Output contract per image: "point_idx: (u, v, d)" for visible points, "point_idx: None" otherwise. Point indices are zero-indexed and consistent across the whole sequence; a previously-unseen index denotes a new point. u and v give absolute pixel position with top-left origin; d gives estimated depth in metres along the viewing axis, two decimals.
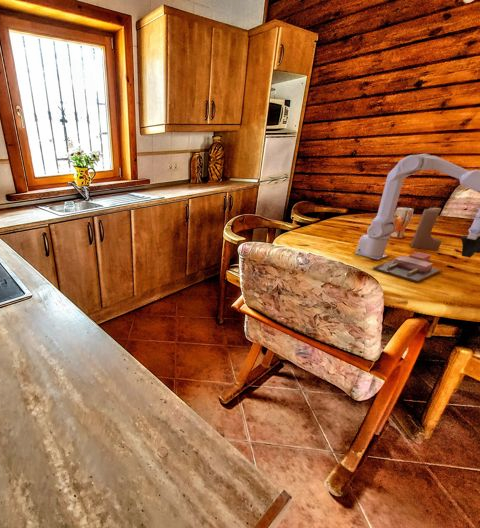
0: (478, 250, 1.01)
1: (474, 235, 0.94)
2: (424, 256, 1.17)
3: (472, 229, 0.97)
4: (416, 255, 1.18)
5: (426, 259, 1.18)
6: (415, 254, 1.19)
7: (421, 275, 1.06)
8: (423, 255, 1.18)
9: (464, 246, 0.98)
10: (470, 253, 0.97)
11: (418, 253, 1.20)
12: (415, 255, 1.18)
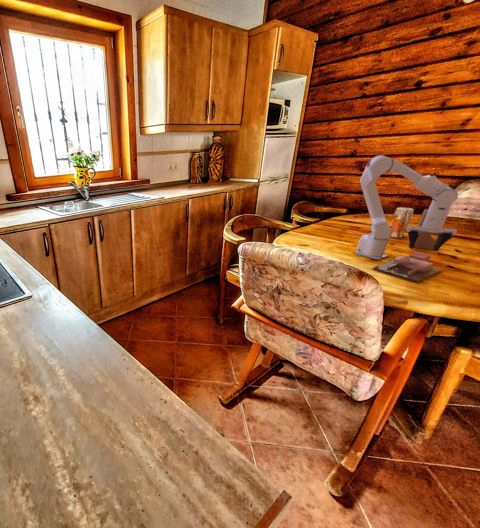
0: (435, 248, 1.15)
1: (407, 228, 1.17)
2: (424, 256, 1.17)
3: None
4: (416, 255, 1.18)
5: (426, 259, 1.18)
6: (415, 254, 1.19)
7: (421, 275, 1.06)
8: (423, 255, 1.18)
9: (410, 238, 1.19)
10: (411, 245, 1.18)
11: (418, 253, 1.20)
12: (415, 255, 1.18)
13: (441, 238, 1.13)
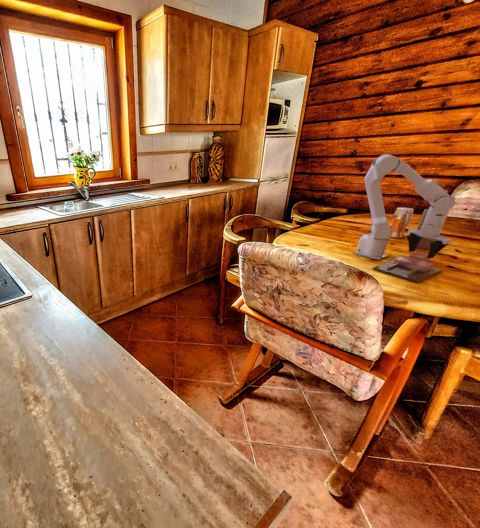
0: (414, 249, 1.21)
1: (449, 240, 1.08)
2: (424, 256, 1.17)
3: (431, 235, 1.13)
4: (416, 255, 1.18)
5: (426, 259, 1.18)
6: (415, 254, 1.19)
7: (421, 275, 1.06)
8: (423, 255, 1.18)
9: None
10: (434, 254, 1.14)
11: (418, 253, 1.20)
12: (415, 255, 1.18)
13: (418, 239, 1.20)
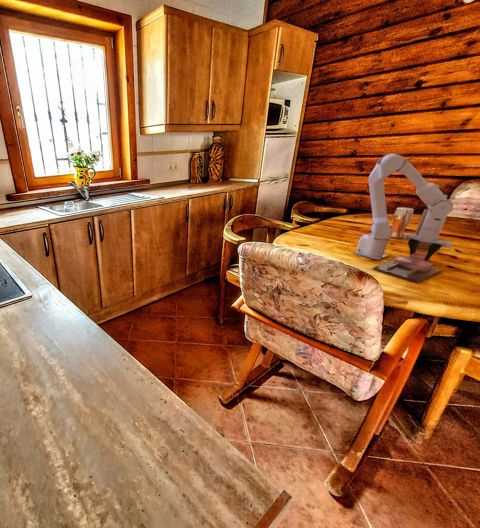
0: None
1: (451, 244, 1.10)
2: (424, 256, 1.17)
3: (432, 240, 1.13)
4: (416, 255, 1.18)
5: None
6: (415, 254, 1.19)
7: (421, 275, 1.06)
8: (423, 255, 1.18)
9: None
10: (430, 256, 1.16)
11: (418, 253, 1.20)
12: (415, 255, 1.18)
13: (418, 244, 1.19)
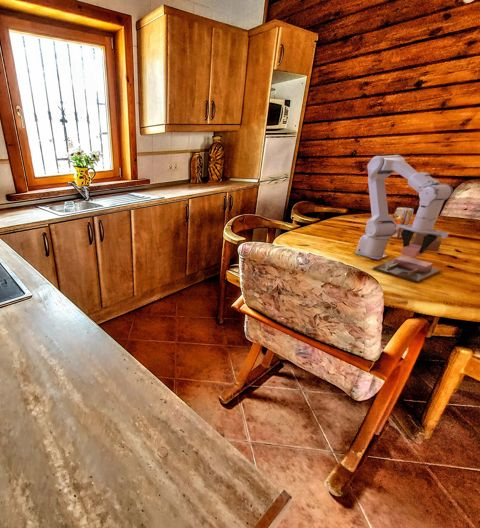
0: None
1: (447, 234, 1.00)
2: (418, 249, 1.07)
3: (427, 230, 1.03)
4: (410, 247, 1.09)
5: None
6: (409, 246, 1.10)
7: (421, 275, 1.06)
8: (417, 248, 1.08)
9: None
10: (425, 249, 1.07)
11: (412, 245, 1.11)
12: (408, 247, 1.09)
13: (411, 235, 1.10)
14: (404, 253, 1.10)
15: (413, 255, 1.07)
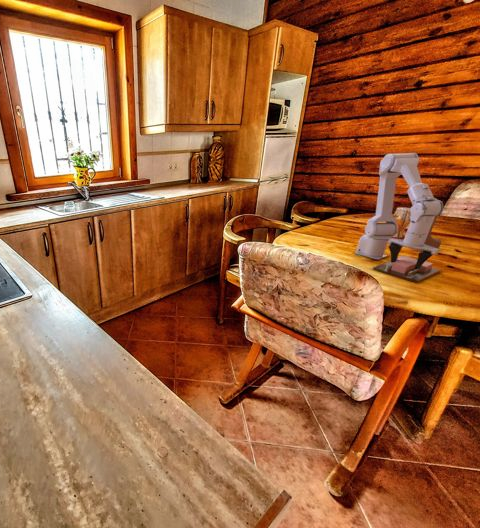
0: (395, 259, 1.13)
1: (438, 250, 1.01)
2: (409, 265, 1.08)
3: (418, 245, 1.04)
4: (400, 263, 1.10)
5: (411, 268, 1.09)
6: (400, 262, 1.11)
7: (421, 275, 1.06)
8: (408, 264, 1.09)
9: None
10: (421, 265, 1.06)
11: (403, 261, 1.11)
12: (399, 264, 1.10)
13: (400, 248, 1.12)
14: (394, 269, 1.11)
15: (403, 271, 1.08)
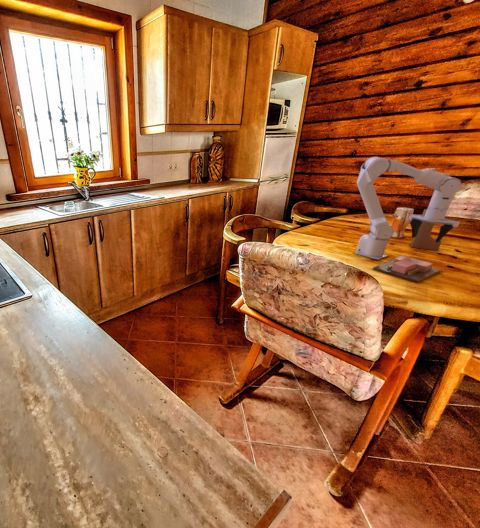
0: (416, 234, 1.20)
1: (458, 223, 1.08)
2: (409, 265, 1.08)
3: (439, 219, 1.11)
4: (400, 263, 1.10)
5: (411, 268, 1.09)
6: (400, 262, 1.11)
7: (421, 275, 1.06)
8: (408, 264, 1.09)
9: None
10: (441, 238, 1.14)
11: (403, 261, 1.11)
12: (399, 264, 1.10)
13: (420, 224, 1.19)
14: (394, 269, 1.11)
15: (403, 271, 1.08)
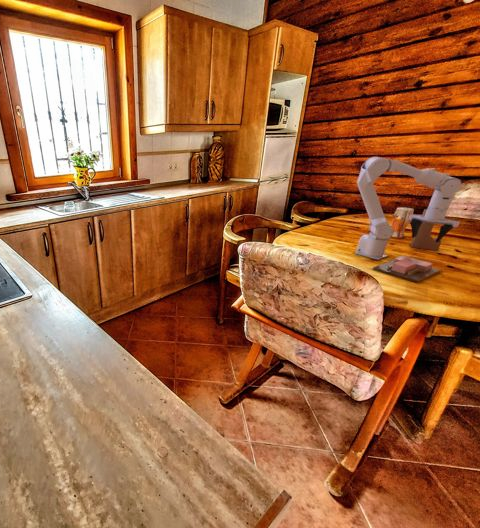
0: (416, 234, 1.20)
1: (458, 223, 1.08)
2: (409, 265, 1.08)
3: (439, 219, 1.11)
4: (400, 263, 1.10)
5: (411, 268, 1.09)
6: (400, 262, 1.11)
7: (421, 275, 1.06)
8: (408, 264, 1.09)
9: None
10: (441, 238, 1.14)
11: (403, 261, 1.11)
12: (399, 264, 1.10)
13: (420, 224, 1.19)
14: (394, 269, 1.11)
15: (403, 271, 1.08)
